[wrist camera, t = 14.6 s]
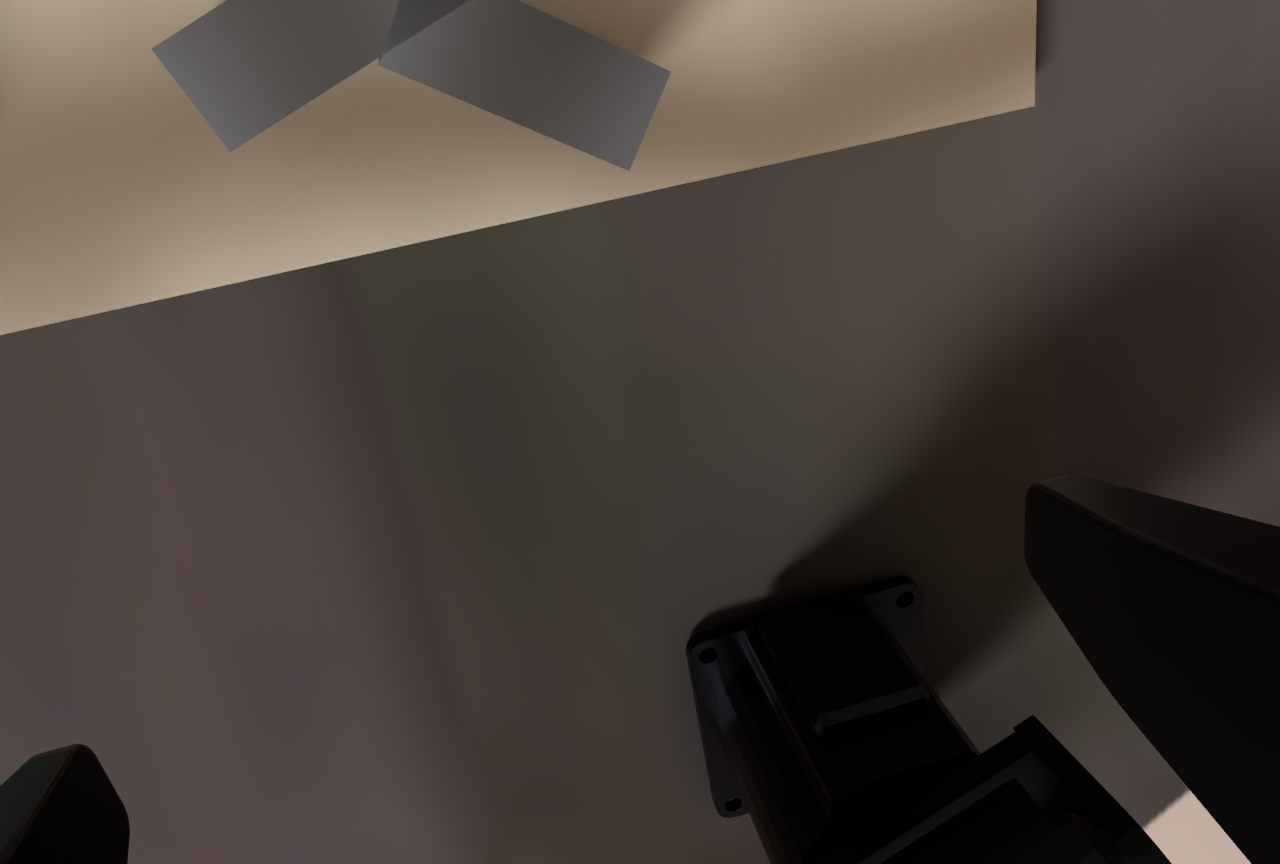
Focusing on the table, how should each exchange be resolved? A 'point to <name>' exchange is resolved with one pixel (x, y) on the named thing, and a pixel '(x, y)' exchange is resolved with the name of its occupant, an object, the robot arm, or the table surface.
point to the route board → (428, 120)
